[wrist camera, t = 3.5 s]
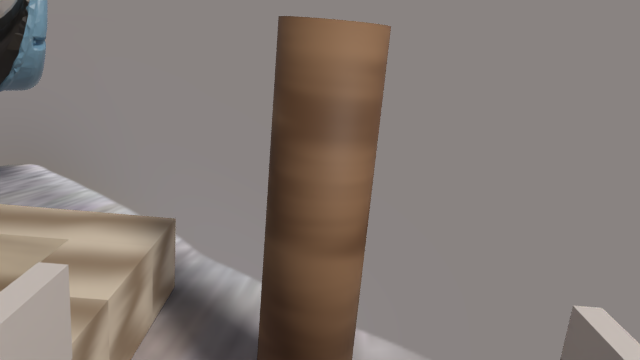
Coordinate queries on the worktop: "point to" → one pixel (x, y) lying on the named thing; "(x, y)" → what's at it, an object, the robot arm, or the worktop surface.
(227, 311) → the worktop surface
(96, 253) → the socket block
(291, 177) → the peg
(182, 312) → the worktop surface
